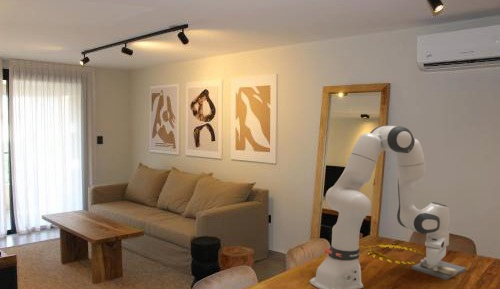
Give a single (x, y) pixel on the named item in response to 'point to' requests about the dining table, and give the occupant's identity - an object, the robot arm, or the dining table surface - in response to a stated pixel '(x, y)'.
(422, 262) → the link
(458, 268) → the pintle board
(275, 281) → the dining table surface
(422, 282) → the dining table surface
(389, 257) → the decorative wreath
